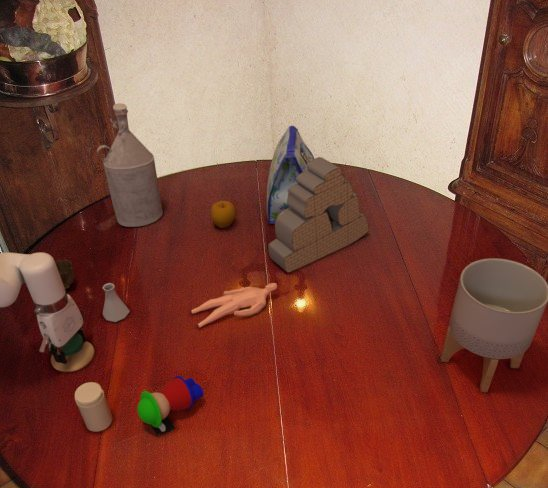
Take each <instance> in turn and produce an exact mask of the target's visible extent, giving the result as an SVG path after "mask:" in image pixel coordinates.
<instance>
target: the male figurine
mask: <svg viewBox="0 0 548 488" xmlns="http://www.w3.org/2000/svg"><path fill="white" fill-rule="evenodd" d="M276 289H278V285H277V283H276V282H271V283H268V284H267V285H265V286H264V288H261V287H260V288H259V287H257V286H246V287H240V288H239V289H238V288H236V289H231V290H225V291H223V293H222V294H223V295H222V296H219V297H216V298H211V299H210V298H209V300H207V301H205V302H204V303H202V304H200V305H199V306H198V307H195V308H193V309H191V314H192V315H194V314H197V313H200V312H203V311H206V310H210V309H214V308H216V309H214V310H213V311H212V312H211V313H210V314H209V315H208V316H207V317H206V318H205V319H203V320H201V321H200V322H199V323H197V327H198V328H199V329H200V328H202V327H204V326H206V325H208V324H210V323H212V322H215V321H216V320H218V319H221V318H223V317H224V316H227V315H232V314H233V315H234V316H239V317H251V316H253V315H255V314H258V313H260V312H261V311H262V310H263V309H264V308H265V307H266V305H267V297H268V295H270V292H272V291H275V290H276ZM247 307H250V308H247ZM242 308H243V309H242ZM244 308H245V309H244ZM240 309H241V310H240Z"/></svg>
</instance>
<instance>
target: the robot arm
mask: <svg viewBox="0 0 548 488" xmlns="http://www.w3.org/2000/svg"><path fill="white" fill-rule="evenodd" d="M55 261H56V260H55V259H54V257H53V256H52V255H50V254H49V253H46V252H42V251H41V252H33V253H30V254H28V253H27V254H26V253H18V252H1V253H0V308H7V307H10V306H11V305H13V304H14V303H15V302H16V300H17V298H18V296H19V294H20V291H21V288H22V285H23V284H25V285H26V287H27V290H28V292H29V294H30V296H31V299H32V302H33V304H34V306H35V309H34V310H33V313H34V314H35V315H36V319H37V325H38V328H39V332H40V334H41V337H42V341H41V345H40V346H39V347H40V348H39V353H41V354H44V355H50V356H52V355H53V357H54V359H55V361H56V362H58V363H63V364H66V363H67V360H66V358H65V355H64V353H63V352H61V347H62V346H63V345H65V344H66V343H67V342H68V341H69V340H70V339H71V337H72V336H73V335H74V334H75V333H76V332H77V333H79V334H80V335H81V336H82V338H83V341H84V343H85V342H86V341H87V339H86V337H85V336H86V335H85V333H84V330H85V326H84V323H85V314H86V309H84V308H79V307H78V305H77V304H76V301H75V300H74V299H73V297H71V295H70V294H68V293H67V290H65V288H64V285H63V282H62V280H61V277H60V274H59V272H58V269H57V266H56V263H55ZM54 345H55V346H56V349H55V348H54Z"/></svg>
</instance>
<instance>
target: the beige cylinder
mask: <svg viewBox="0 0 548 488" xmlns="http://www.w3.org/2000/svg"><path fill="white" fill-rule="evenodd" d="M74 401H75V403H76V406H77V408H78V410H79V413H80V415H81V417H82V420H83V423H84V426H85V427H86V429H87V430H89V431H90V432H93V433H96V432H97V433H98V432H102V431H104V430H106V429H107V428H109V427H110V425H112V422H113V417H114V416H113V414H112V412H111V409H110V406H109V403H108V400H107V397H106V395H105V392H104V389H103V388H102V386H101V385H100V383H98V382H93V381H89V382H85V383H83V384H81V385H80V386H78V387H77V388H76V390H75V392H74Z"/></svg>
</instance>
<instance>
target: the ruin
mask: <svg viewBox="0 0 548 488" xmlns="http://www.w3.org/2000/svg"><path fill="white" fill-rule="evenodd" d="M296 182H298V183H297V184H294V185H292V186H291V187H290V188H289V190H288V198H287V205H288V206H290V208H288V209H286V210H285V211H284V212H282V213H281V214H280V215H279V216H278V217H277V219H276V223H275V224H274V232H275V237H276V238H275V239H274V240H272V241H270V242H269V244H268V248H267V249H268V255H269V258H270V259H271V260H272V262H274V263H275V264H276V265H277V266H279V267H280V268H281V269H283V270H284V271H285V272H286V273H292V272H294V271H297V270H298V269H301V268H304V267H306V266H307V265H309V264H312V263H314V262H316V261H318V260H320V259H322V258H324V257H327V256H329V255H331V254H333V253H335V252H337V251H339V250H341V249H344V248H346V247H348V246H349V245H351V244H353V243H355V242H357V241H358V240H359V239H361V238H362V237H363V236H365V235H366V234H367V233H369V230H370V228H369V222H368V218H367V216H366V215H365V214H363V213H362V212H361V208H360V200H359V195H358V194H356V193H354V186H353V185H352V183H351V182H350V181H348V180H346V177H345V176H344V175H343V170H342V168H341V167H339V166H337V165H335V164H334V163H333V162H331V161H329V160H327V159H325V158H323V157H321V156H317V157H316V158H315V157H314V159H313V160H312V161H310V162H308V163H307V171H305V172H302V173H301V174H299V175H298V176H297V177H296Z"/></svg>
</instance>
